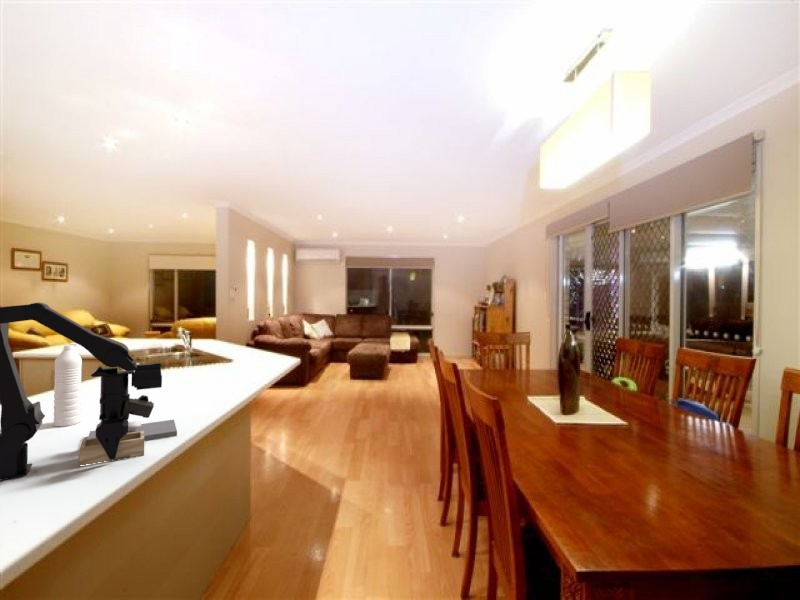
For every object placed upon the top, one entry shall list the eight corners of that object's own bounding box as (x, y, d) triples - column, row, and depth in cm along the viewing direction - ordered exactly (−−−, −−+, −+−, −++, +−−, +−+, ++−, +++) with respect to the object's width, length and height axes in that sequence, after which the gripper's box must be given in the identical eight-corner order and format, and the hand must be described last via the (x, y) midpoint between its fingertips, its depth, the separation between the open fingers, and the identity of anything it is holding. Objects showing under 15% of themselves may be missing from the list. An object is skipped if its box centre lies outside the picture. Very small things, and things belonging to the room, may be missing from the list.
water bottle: (75, 425, 119) (76, 345, 119) (49, 427, 117) (50, 346, 117) (87, 417, 128) (88, 342, 127) (62, 419, 125) (64, 342, 125)
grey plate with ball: (176, 435, 113) (177, 423, 113) (85, 450, 101) (85, 436, 101) (173, 424, 123) (173, 412, 123) (90, 436, 111) (90, 423, 111)
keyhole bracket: (144, 455, 99) (144, 438, 99) (79, 467, 92) (79, 448, 92) (143, 446, 105) (144, 430, 105) (82, 457, 97) (82, 439, 97)
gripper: (153, 396, 95) (151, 458, 95) (150, 381, 110) (149, 435, 111) (96, 402, 89) (94, 469, 89) (102, 385, 104) (101, 442, 104)
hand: (113, 452), depth 98 cm, fingers open, 9 cm apart
